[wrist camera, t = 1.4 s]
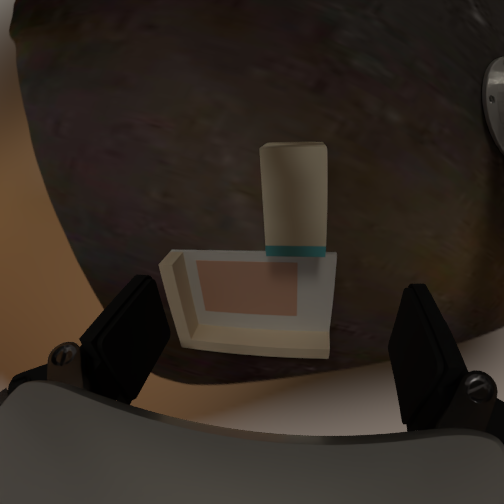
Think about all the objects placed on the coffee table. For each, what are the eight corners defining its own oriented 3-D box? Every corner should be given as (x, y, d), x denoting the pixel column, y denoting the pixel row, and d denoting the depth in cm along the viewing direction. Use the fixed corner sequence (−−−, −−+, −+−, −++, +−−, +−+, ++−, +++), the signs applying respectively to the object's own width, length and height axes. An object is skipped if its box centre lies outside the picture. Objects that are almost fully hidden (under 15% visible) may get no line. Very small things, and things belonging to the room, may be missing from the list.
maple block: (322, 142, 24) (326, 147, 19) (322, 233, 28) (325, 257, 23) (267, 142, 24) (259, 148, 20) (272, 233, 28) (266, 256, 24)
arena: (336, 252, 28) (339, 269, 25) (327, 338, 33) (328, 358, 30) (172, 249, 31) (158, 264, 28) (191, 329, 37) (182, 347, 34)
